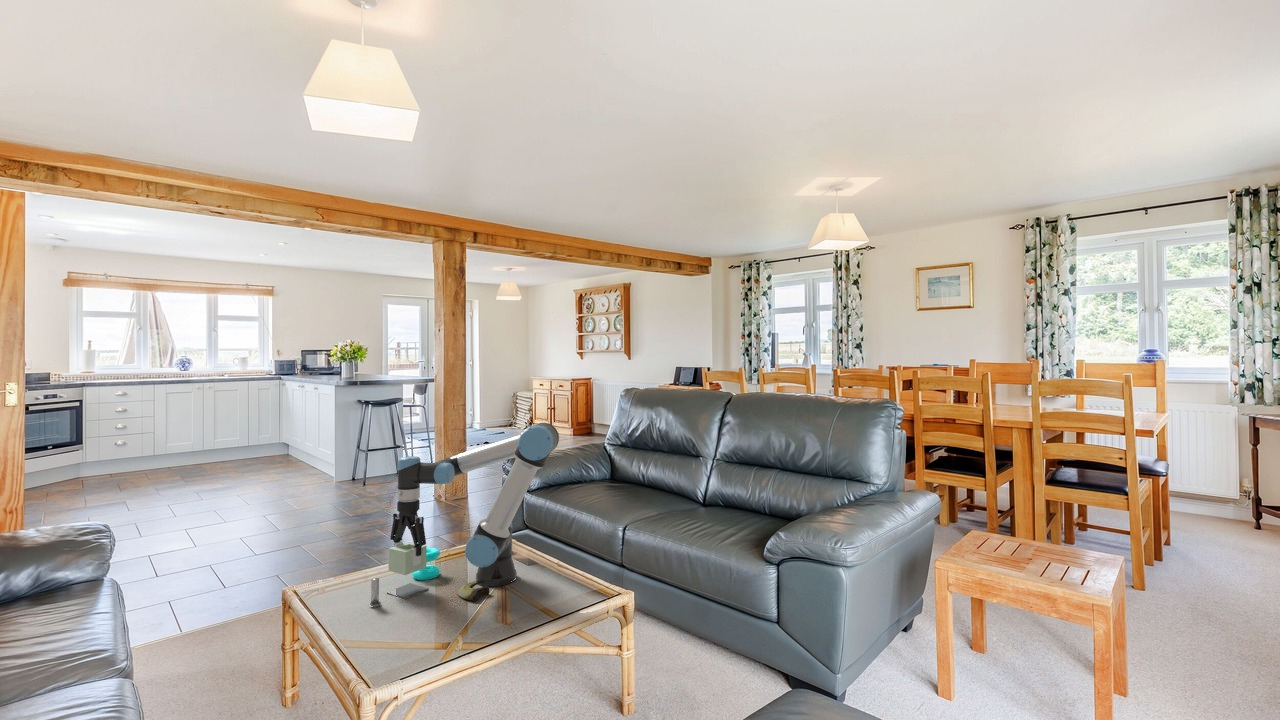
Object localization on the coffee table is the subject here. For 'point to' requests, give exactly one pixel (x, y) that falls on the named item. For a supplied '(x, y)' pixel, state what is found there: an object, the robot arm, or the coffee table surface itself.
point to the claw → (472, 592)
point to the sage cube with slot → (405, 559)
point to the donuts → (428, 566)
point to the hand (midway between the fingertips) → (407, 562)
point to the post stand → (375, 592)
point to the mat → (409, 590)
